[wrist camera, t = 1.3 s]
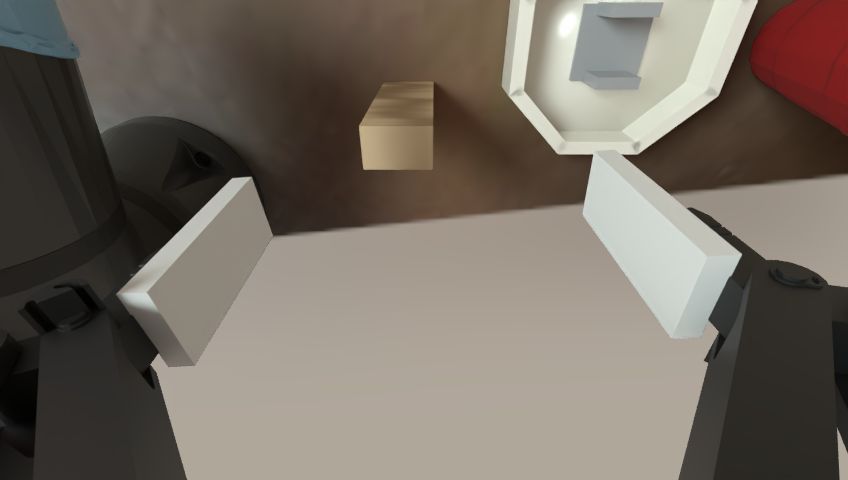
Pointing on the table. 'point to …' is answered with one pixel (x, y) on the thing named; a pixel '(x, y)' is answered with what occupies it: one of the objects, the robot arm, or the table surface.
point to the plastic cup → (807, 57)
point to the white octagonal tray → (618, 66)
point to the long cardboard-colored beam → (399, 128)
